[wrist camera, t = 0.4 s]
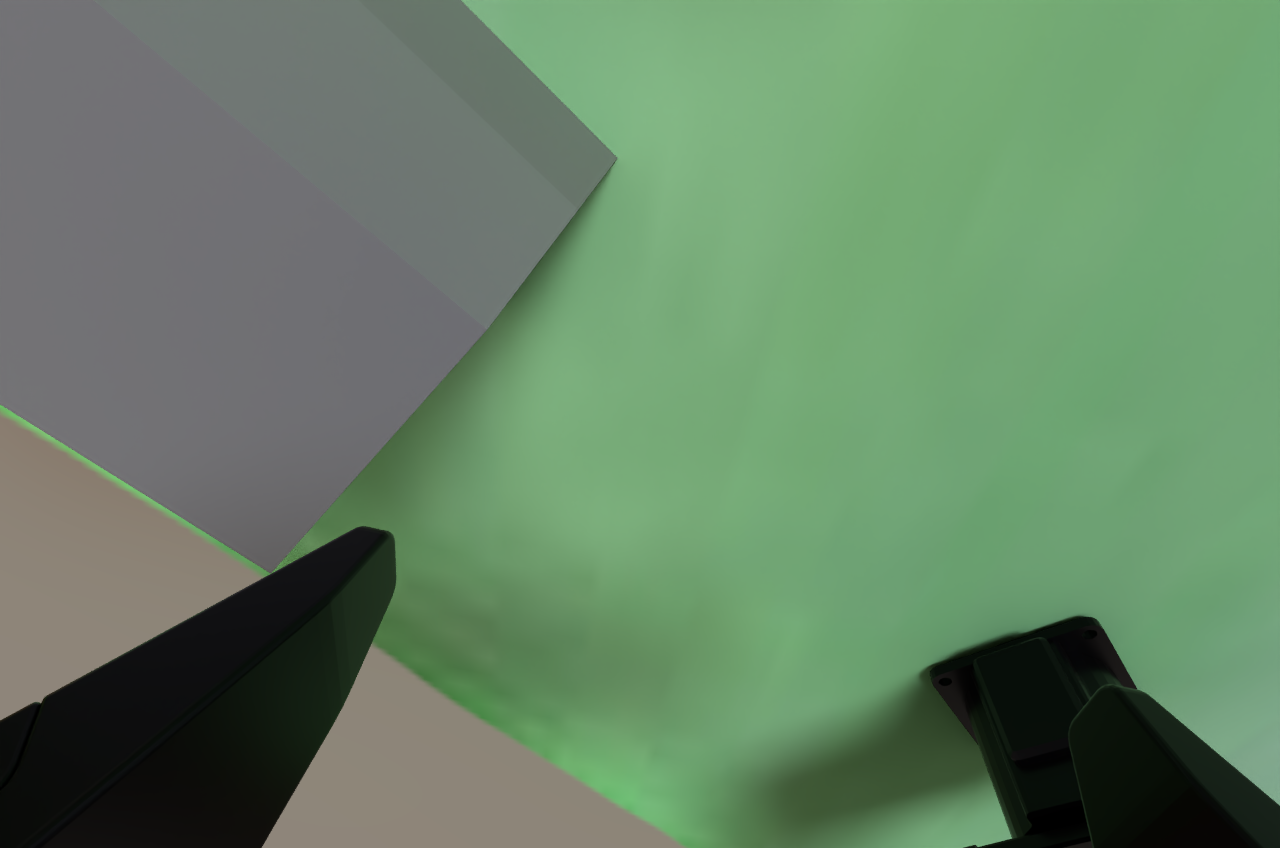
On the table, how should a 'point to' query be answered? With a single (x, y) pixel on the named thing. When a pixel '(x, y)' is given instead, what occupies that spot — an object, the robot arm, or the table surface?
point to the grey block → (261, 235)
